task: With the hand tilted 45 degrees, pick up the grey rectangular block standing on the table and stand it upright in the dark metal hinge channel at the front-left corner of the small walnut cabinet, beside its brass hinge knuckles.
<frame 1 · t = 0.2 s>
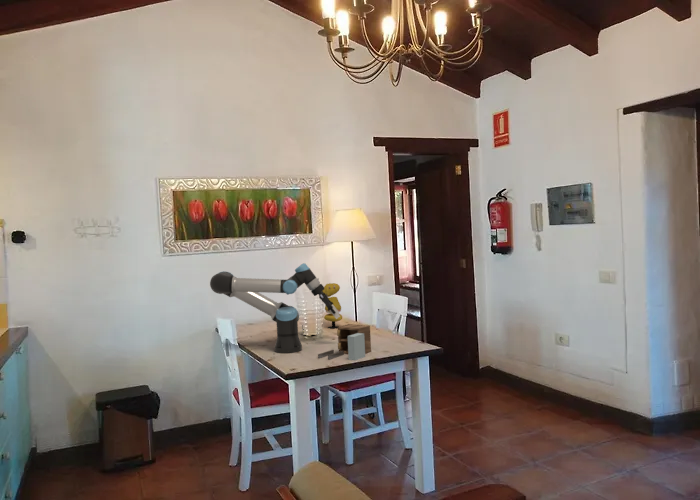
hand: (338, 316, 333), 16 cm above the table, tool tilted 35°, fingers open, 13 cm apart
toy: (331, 328, 385), on the table
cabinet: (355, 352, 305), on the table
supplement tub: (310, 335, 362), on the table
grey rectangular block: (357, 358, 291), on the table
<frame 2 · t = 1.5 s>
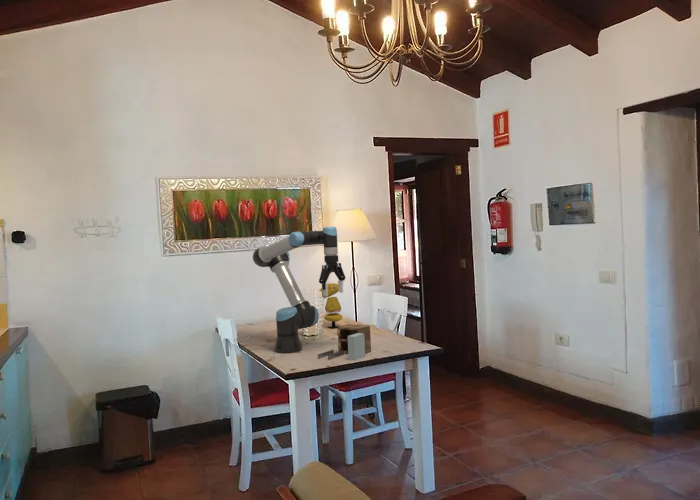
hand: (333, 294, 312), 31 cm above the table, tool pointing down, fingers open, 13 cm apart
nothing on the table moved.
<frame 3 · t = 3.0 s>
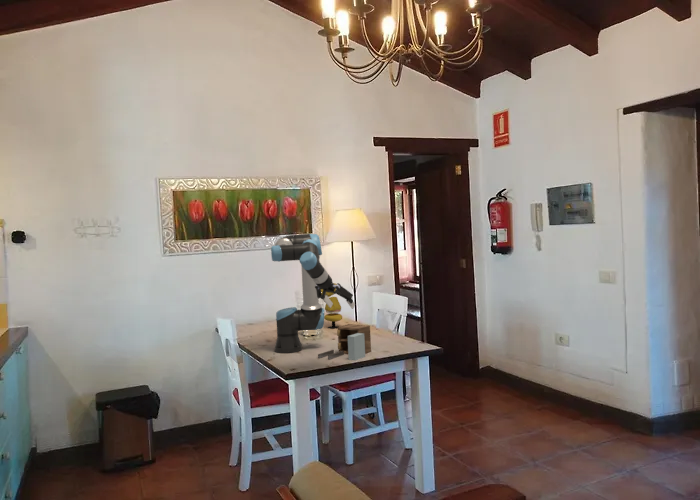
hand: (342, 306, 282), 28 cm above the table, tool tilted 45°, fingers open, 13 cm apart
nothing on the table moved.
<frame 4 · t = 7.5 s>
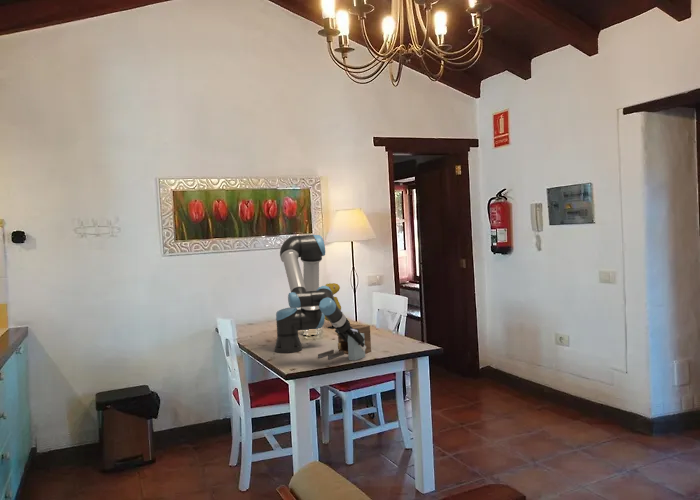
hand: (361, 348, 294), 4 cm above the table, tool tilted 45°, fingers closed on grey rectangular block, 4 cm apart
grey rectangular block: (357, 358, 291), on the table, touching gripper
everything else where it was.
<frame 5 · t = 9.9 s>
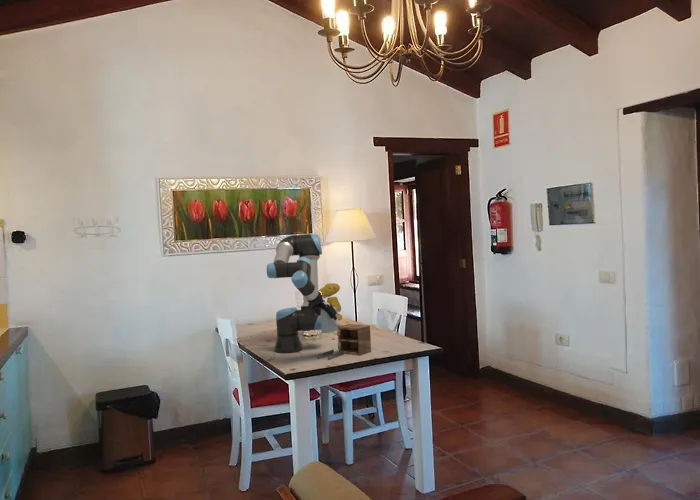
hand: (334, 322, 301), 17 cm above the table, tool tilted 45°, fingers closed on grey rectangular block, 4 cm apart
grey rectangular block: (330, 331, 298), point 13 cm above the table, touching gripper
everything else where it was.
when the fingers open (5 cm above the table, at t = 12.4 s): grey rectangular block drops 1 cm, resting in cabinet.
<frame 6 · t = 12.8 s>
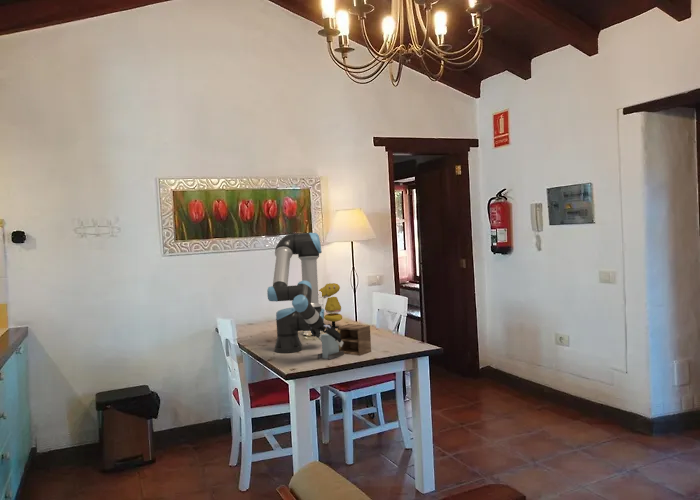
hand: (334, 343, 301), 6 cm above the table, tool tilted 45°, fingers open, 10 cm apart
grey rectangular block: (330, 356, 298), resting in cabinet
everything else where it was.
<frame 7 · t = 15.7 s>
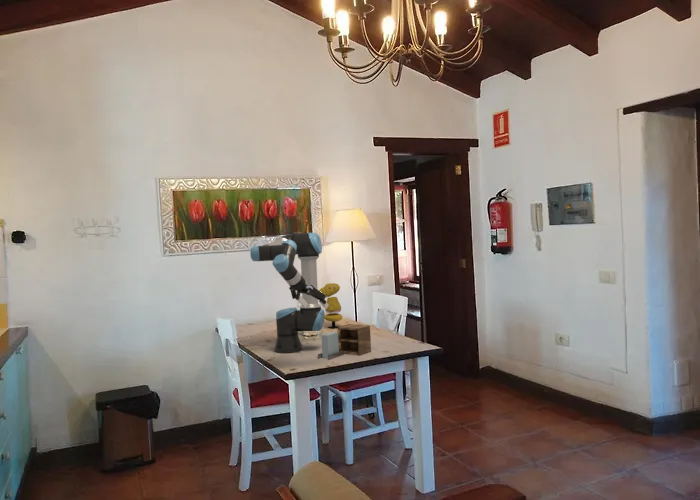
hand: (316, 306, 290), 27 cm above the table, tool tilted 45°, fingers open, 13 cm apart
nothing on the table moved.
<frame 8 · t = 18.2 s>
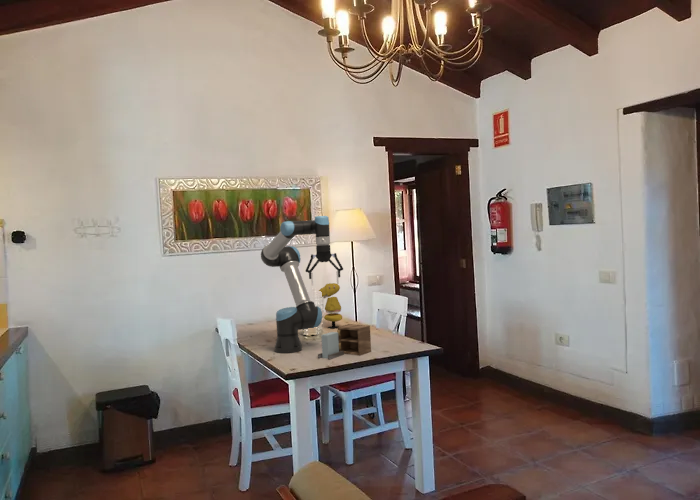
hand: (325, 284, 307), 37 cm above the table, tool pointing down, fingers open, 13 cm apart
nothing on the table moved.
at the end: grey rectangular block 0.1 cm from the target spot on the cabinet, point 0.0 cm above the cabinet's base; grey rectangular block tilted 0°; the gripper is holding nothing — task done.
